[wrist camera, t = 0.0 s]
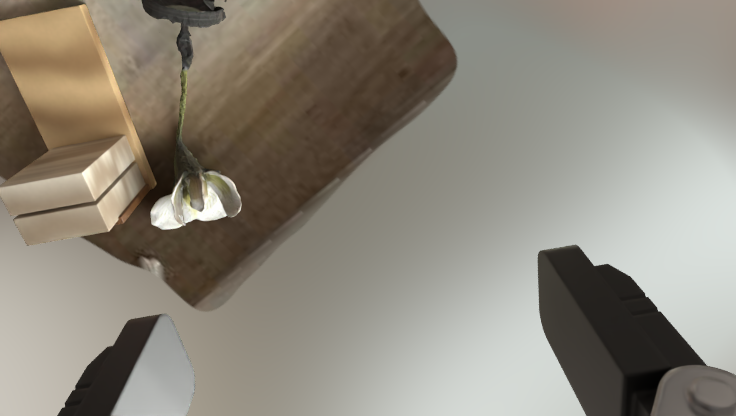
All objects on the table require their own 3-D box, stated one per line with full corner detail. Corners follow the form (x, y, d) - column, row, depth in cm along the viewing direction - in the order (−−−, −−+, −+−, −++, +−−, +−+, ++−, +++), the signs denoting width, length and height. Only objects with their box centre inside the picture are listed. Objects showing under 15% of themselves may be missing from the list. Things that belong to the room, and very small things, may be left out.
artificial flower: (251, -9, 45) (267, 27, 38) (228, 202, 57) (236, 263, 50) (140, -29, 42) (132, 6, 35) (139, 200, 54) (134, 264, 47)
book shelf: (-5, 21, 45) (-95, 41, 35) (85, 3, 44) (18, 19, 35) (79, 197, 52) (23, 251, 43) (157, 183, 52) (117, 235, 43)
